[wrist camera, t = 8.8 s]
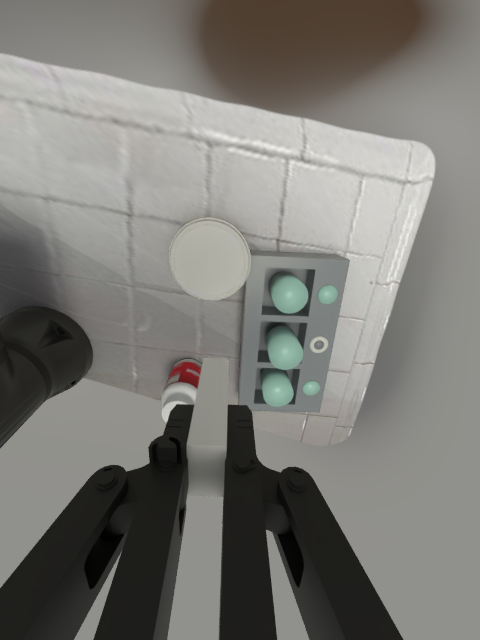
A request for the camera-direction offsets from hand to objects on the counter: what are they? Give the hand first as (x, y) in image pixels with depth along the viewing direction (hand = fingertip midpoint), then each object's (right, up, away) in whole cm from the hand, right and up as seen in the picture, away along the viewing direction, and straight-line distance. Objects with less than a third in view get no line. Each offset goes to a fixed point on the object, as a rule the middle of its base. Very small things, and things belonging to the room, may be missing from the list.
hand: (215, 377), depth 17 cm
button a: (+7, -6, +31) cm, 33 cm away
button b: (+8, 0, +27) cm, 28 cm away
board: (+9, +2, +30) cm, 31 cm away
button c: (+8, +9, +25) cm, 28 cm away
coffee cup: (-2, +14, +25) cm, 29 cm away
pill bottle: (-8, -6, +33) cm, 34 cm away
